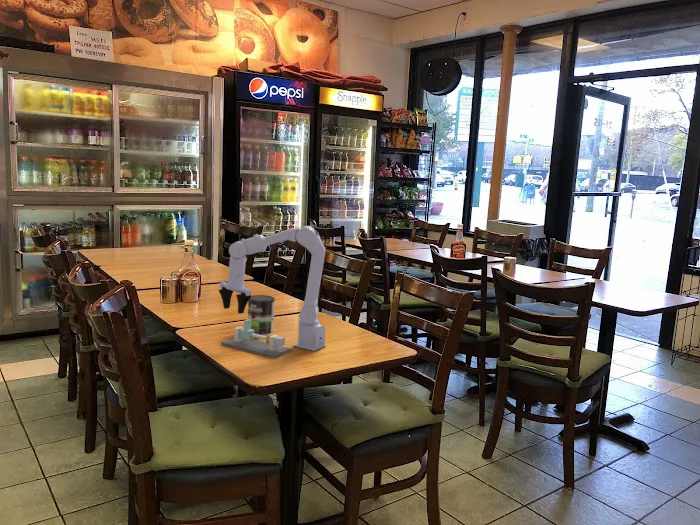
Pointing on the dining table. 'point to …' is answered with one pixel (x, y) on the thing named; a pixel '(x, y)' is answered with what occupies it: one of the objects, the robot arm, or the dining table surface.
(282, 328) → the dining table surface
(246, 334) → the sleeve
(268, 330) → the coffee can
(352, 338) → the dining table surface
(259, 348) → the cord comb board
